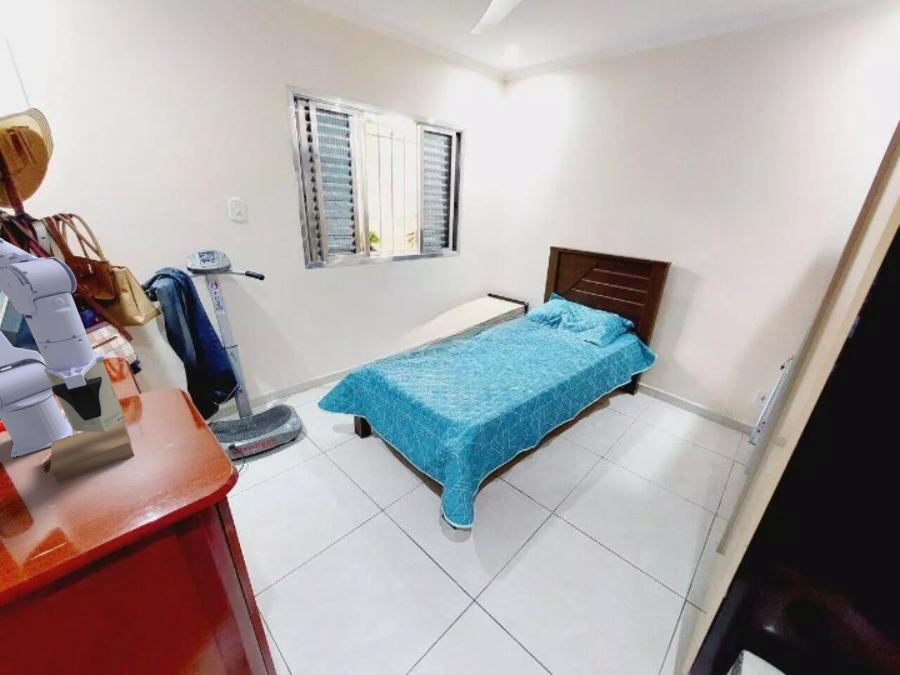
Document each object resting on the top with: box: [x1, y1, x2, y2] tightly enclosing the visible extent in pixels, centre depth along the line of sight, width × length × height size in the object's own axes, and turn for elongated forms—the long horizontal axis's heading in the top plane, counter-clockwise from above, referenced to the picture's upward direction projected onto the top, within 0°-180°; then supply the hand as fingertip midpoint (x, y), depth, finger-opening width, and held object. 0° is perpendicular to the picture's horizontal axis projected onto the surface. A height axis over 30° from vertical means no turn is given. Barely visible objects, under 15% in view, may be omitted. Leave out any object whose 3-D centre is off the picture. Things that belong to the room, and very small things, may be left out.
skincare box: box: [44, 360, 127, 432], centre depth 62 cm, size 6×4×12 cm
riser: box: [49, 420, 135, 485], centre depth 66 cm, size 10×10×3 cm
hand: (91, 408), depth 63 cm, fingers closed on skincare box, 7 cm apart
